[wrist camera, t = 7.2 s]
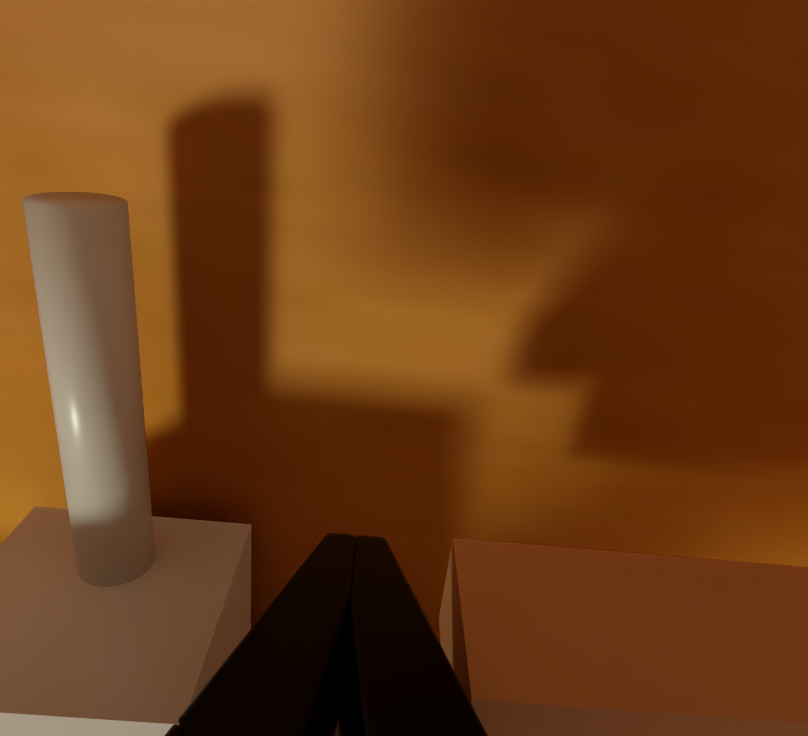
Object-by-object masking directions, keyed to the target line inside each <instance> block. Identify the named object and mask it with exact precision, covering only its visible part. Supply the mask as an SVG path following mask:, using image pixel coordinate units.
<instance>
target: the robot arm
mask: <svg viewBox="0 0 808 736" xmlns="http://www.w3.org/2000/svg"><path fill="white" fill-rule="evenodd" d="M338 718H339V736H488V735H487V733H486V731H485V729H484V727H483V725H482V723H481V721H480V719H479V717H478V715H477V714H476V712H475V710H474V708H473V706H472V704H471V702H470V700H469V698H468V696H467V694H466V692H465V691H464V689H463V687H462V685H461V683H460V681H459V679H458V677H457V675H456V673H455V671H454V669H453V667H452V666H451V664H450V662H449V660H448V658H447V656H446V654H445V652H444V650H443V648H442V646H441V644H440V643H439V641H438V639H437V637H436V635H435V633H434V631H433V629H432V627H431V625H430V623H429V621H428V620H427V618H426V616H425V614H424V612H423V610H422V608H421V606H420V604H419V602H418V600H417V598H416V596H415V595H414V593H413V591H412V589H411V587H410V585H409V583H408V581H407V579H406V577H405V575H404V573H403V572H402V570H401V568H400V566H399V564H398V562H397V560H396V558H395V556H394V554H393V552H392V550H391V549H390V547H389V545H388V543H387V541H386V540H385V539H384V538H382V537H373V536H357V537H356V536H354V535H349V534H337V533H330V534H327V535H326V536H325V537H324V539H323V540H322V541H321V542H320V544H319V545H318V546H317V547H316V548H315V550H314V551H313V552H312V553H311V555H310V556H309V557H308V558H307V560H306V561H305V562H304V563H303V565H302V566H301V567H300V568H299V570H298V571H297V572H296V573H295V575H294V576H293V577H292V578H291V580H290V581H289V582H288V583H287V584H286V586H285V587H284V588H283V589H282V591H281V592H280V593H279V594H278V596H277V597H276V598H275V599H274V601H273V602H272V603H271V604H270V606H269V607H268V608H267V609H266V611H265V612H264V613H263V614H262V616H261V617H260V618H259V619H258V620H257V622H256V623H255V624H254V625H253V627H252V628H251V629H250V630H249V632H248V633H247V634H246V635H245V637H244V638H243V639H242V640H241V642H240V643H239V644H238V645H237V647H236V648H235V649H234V650H233V652H232V653H231V654H230V655H229V656H228V658H227V659H226V660H225V661H224V663H223V664H222V665H221V666H220V668H219V669H218V670H217V671H216V673H215V674H214V675H213V676H212V678H211V679H210V680H209V681H208V683H207V684H206V685H205V686H204V688H203V689H202V690H201V691H200V692H199V694H198V695H197V696H196V697H195V699H194V700H193V701H192V702H191V704H190V705H189V706H188V707H187V709H186V710H185V711H184V712H183V714H182V715H181V716H180V717H179V719H178V725H176V724H175V725H173V726H172V727H171V728H170V729H169V730H168V732H167V733H166V734H165V735H164V736H335V733H336V728H337V723H338Z"/></svg>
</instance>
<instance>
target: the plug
mask: <svg viewBox="0 0 808 736" xmlns="http://www.w3.org/2000/svg"><path fill="white" fill-rule="evenodd" d="M22 202H23V208H24V215H25V222H26V229H27V235H28V242H29V249H30V256H31V262H32V269H33V276H34V283H35V289H36V296H37V303H38V310H39V316H40V323H41V330H42V337H43V343H44V350H45V357H46V363H47V370H48V377H49V384H50V390H51V397H52V404H53V411H54V417H55V424H56V431H57V438H58V444H59V451H60V458H61V465H62V471H63V478H64V485H65V492H66V498H67V505H68V509H60V508H48V507H36V506H35V507H34V508H33V509H32V510H31V512H30V513H29V514H28V515H27V516H26V517H25V518H24V519H23V521H22V522H21V523H20V524H19V525H18V526H17V527H16V529H15V530H14V531H13V532H12V533H11V534H10V535H9V537H8V538H7V539H6V540H5V541H4V542H3V543H2V545H1V546H0V736H164V735H165V734H166V733H167V732H168V730H169V729H170V728H171V727H172V726H173V725H175V724H176V725H178V719H179V717H180V716H181V715H182V714H183V712H184V711H185V710H186V709H187V707H188V706H189V705H190V704H191V702H192V701H193V700H194V699H195V697H196V696H197V695H198V694H199V692H200V691H201V690H202V689H203V688H204V686H205V685H206V684H207V683H208V681H209V680H210V679H211V678H212V676H213V675H214V674H215V673H216V671H217V670H218V669H219V668H220V666H221V665H222V664H223V663H224V661H225V660H226V659H227V658H228V656H229V655H230V654H231V653H232V652H233V650H234V649H235V648H236V647H237V645H238V644H239V643H240V642H241V640H242V639H243V638H244V637H245V635H246V634H247V633H248V632H249V630H250V629H251V524H241V523H229V522H217V521H205V520H193V519H181V518H169V517H156V516H152V508H151V495H150V482H149V470H148V457H147V444H146V431H145V418H144V406H143V393H142V380H141V367H140V355H139V342H138V329H137V316H136V304H135V291H134V278H133V265H132V253H131V240H130V227H129V214H128V202H127V201H126V200H125V199H123V198H120V197H116V196H112V195H106V194H98V193H87V192H50V193H40V194H34V195H29V196H26V197H24V198H23V199H22Z"/></svg>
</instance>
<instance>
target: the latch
mask: <svg viewBox="0 0 808 736" xmlns="http://www.w3.org/2000/svg"><path fill="white" fill-rule="evenodd" d="M439 629H440V643H441V646H442V648H443V650H444V652H445V654H446V656H447V658H448V660H449V662H450V664H451V666H452V667H453V669H454V671H455V673H456V675H457V677H458V679H459V681H460V683H461V685H462V687H463V689H464V691H465V692H466V694H467V696H468V698H469V700H470V702H471V704H472V706H473V708H474V710H475V712H476V714H477V715H478V717H479V719H480V721H481V723H482V725H483V727H484V729H485V731H486V733H487V735H488V736H808V567H798V566H786V565H774V564H762V563H750V562H738V561H726V560H714V559H702V558H690V557H678V556H666V555H654V554H642V553H630V552H618V551H606V550H594V549H582V548H570V547H558V546H546V545H534V544H522V543H510V542H498V541H486V540H474V539H462V538H453V541H452V546H451V552H450V558H449V563H448V569H447V574H446V580H445V586H444V591H443V597H442V602H441V608H440V614H439Z"/></svg>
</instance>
